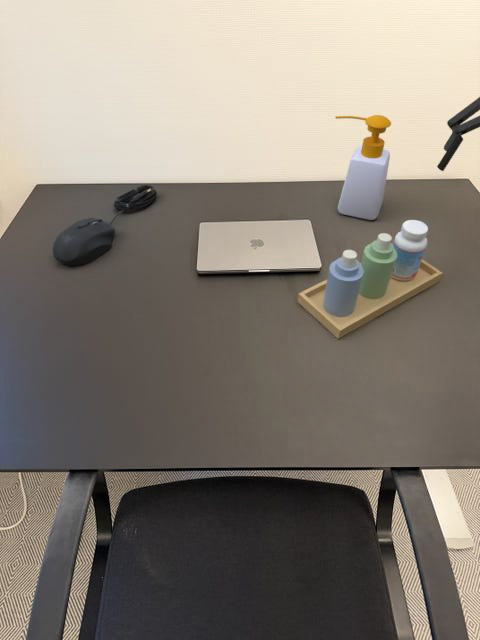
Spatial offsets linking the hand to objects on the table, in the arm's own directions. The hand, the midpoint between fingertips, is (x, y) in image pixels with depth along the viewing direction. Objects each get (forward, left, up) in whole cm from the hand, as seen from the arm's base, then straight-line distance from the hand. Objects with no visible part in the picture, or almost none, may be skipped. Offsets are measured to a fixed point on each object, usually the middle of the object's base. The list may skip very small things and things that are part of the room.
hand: (472, 184), depth 88 cm
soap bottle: (+24, -10, -18) cm, 31 cm away
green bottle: (+11, +17, -17) cm, 26 cm away
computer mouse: (+70, +24, -18) cm, 76 cm away
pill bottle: (+7, +10, -17) cm, 21 cm away
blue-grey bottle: (+15, +25, -17) cm, 33 cm away
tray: (+11, +17, -17) cm, 27 cm away
